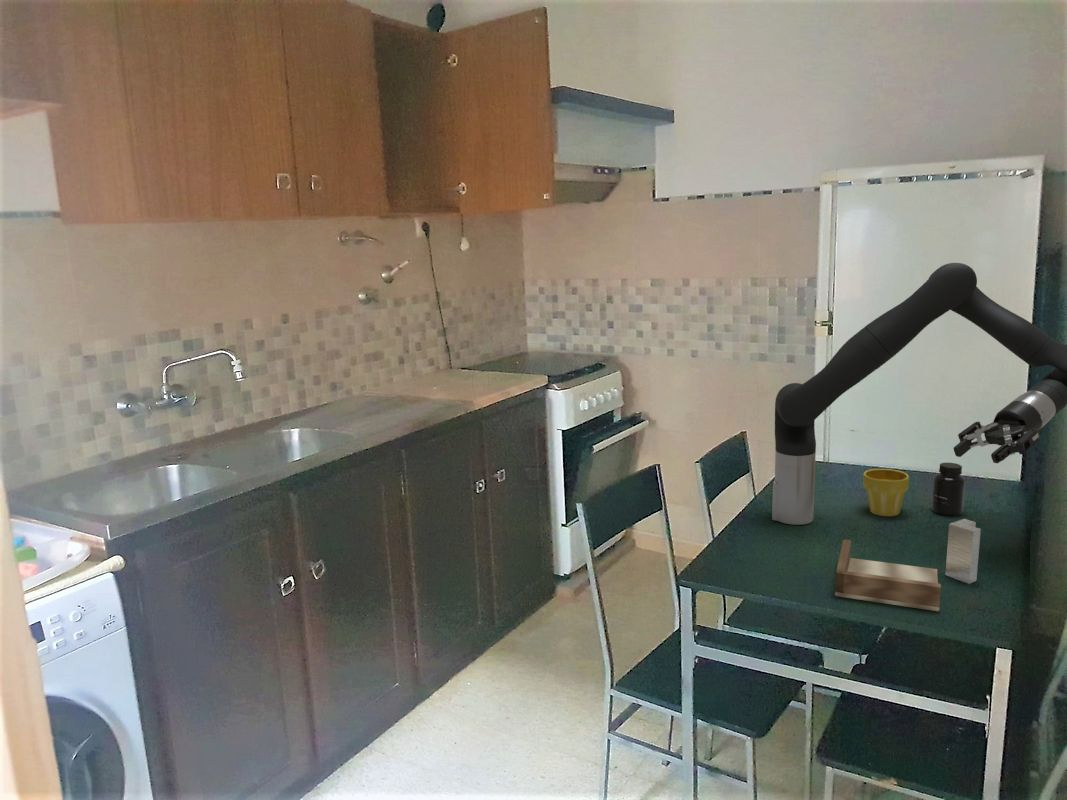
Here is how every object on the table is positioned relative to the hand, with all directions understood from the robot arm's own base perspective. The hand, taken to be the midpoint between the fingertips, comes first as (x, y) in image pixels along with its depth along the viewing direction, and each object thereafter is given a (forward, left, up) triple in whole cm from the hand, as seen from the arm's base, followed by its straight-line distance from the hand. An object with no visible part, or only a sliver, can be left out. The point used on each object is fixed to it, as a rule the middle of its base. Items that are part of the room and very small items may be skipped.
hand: (974, 456), depth 161 cm
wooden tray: (-14, -15, -23) cm, 31 cm away
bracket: (0, -6, -23) cm, 24 cm away
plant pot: (-16, +28, -24) cm, 40 cm away
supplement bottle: (-2, +33, -24) cm, 40 cm away
